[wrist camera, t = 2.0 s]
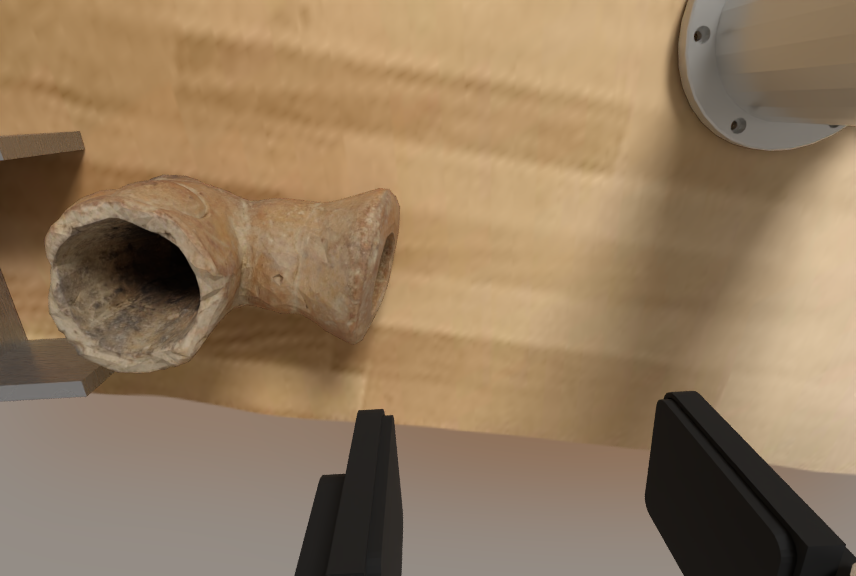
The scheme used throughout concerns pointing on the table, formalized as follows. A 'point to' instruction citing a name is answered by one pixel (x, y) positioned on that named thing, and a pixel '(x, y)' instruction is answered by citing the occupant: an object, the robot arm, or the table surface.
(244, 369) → the table surface
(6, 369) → the gray channel bracket
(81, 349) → the pipe
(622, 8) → the table surface
